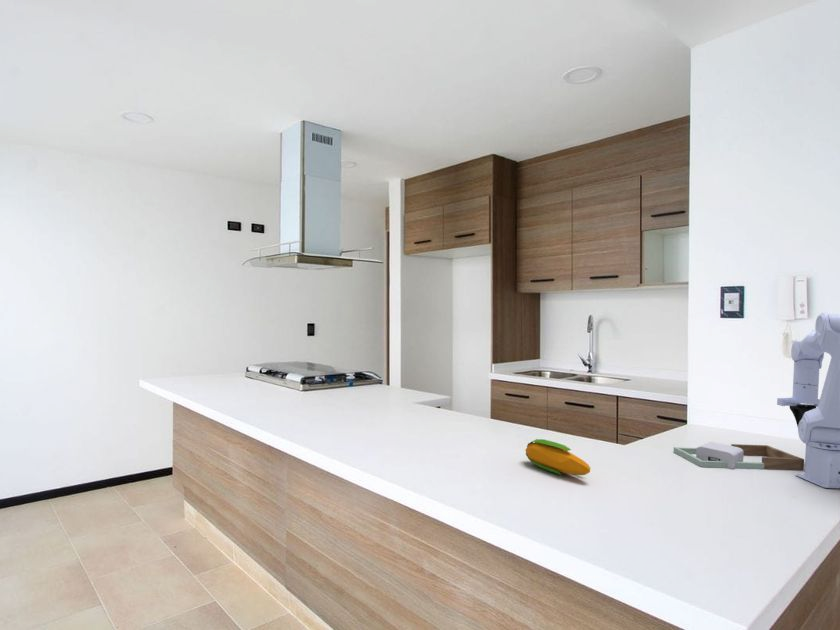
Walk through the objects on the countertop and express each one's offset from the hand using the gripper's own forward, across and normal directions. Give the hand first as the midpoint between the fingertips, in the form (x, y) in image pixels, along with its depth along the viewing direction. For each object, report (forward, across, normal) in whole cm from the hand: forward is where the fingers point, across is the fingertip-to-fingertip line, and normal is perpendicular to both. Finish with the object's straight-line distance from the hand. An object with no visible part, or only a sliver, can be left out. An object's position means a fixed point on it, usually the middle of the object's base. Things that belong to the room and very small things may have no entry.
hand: (803, 431), depth 142 cm
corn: (+10, +74, +13) cm, 75 cm away
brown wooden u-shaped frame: (+9, +9, -2) cm, 13 cm away
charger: (+10, +21, -2) cm, 24 cm away
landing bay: (+9, +23, -2) cm, 25 cm away
